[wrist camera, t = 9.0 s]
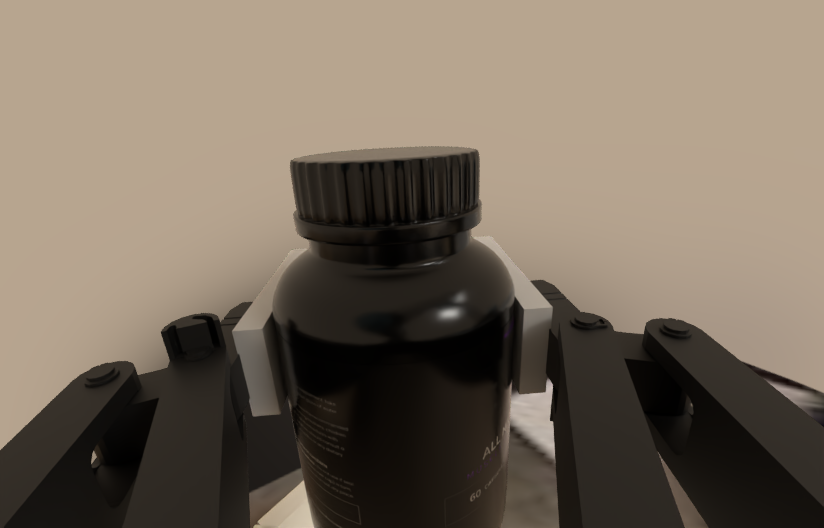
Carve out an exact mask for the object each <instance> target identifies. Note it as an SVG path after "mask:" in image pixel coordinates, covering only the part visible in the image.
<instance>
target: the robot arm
mask: <svg viewBox="0 0 824 528" xmlns="http://www.w3.org/2000/svg"><path fill="white" fill-rule="evenodd" d="M473 238H474V239H476V240H478V241H480V242H481V243H483V244H485V245H486V246H488V247H489V248H490V249H491V250H493V251H494V252H495V253H496V254H497V255H498V256H499V257H500V258H501V260H502V261H503V263H504V264H505V266H506V267H507V269H508V271H509V273H510V275H511V278H512V281H513V284H514V291H515V318H514V341H513V363H512V380H513V382H514V384H515V386H516V388H517V390H518V392H519V394H529V393H541V392H546V380H547V376H548V377H549V379H550V380H551V382H552V384H553V394H552V404H551V415H550V421H553V425H554V442H555V459H556V476H557V493H558V510H559V527H560V528H685V527H684V525H683V522H682V519H681V516H680V513H679V511H678V508H677V505H676V502H675V499H674V497H673V494H672V491H671V488H670V485H669V483H668V480H667V477H666V474H665V471H664V469H663V466H662V463H661V460H660V457H659V455H658V452H659V454H660V455H661V457H662V458H663V460H664V461H665V463H666V464H667V466H668V467H669V469H670V470H671V472H672V473H673V475H674V476H675V478H676V479H677V481H678V482H679V484H680V485H681V487H682V488H683V490H684V491H685V492H686V494H687V495H688V497H689V498H690V500H691V501H692V503H693V504H694V506H695V507H696V509H697V510H698V512H699V513H700V515H701V516H702V518H703V519H704V521H705V522H706V524H707V525H708V527H709V528H824V427H823V426H822V425H820V424H819V423H818V422H817V421H815V420H814V419H813V418H812V417H810V416H809V415H808V414H807V413H805V412H804V411H803V410H802V409H800V408H799V407H798V406H797V405H795V404H794V403H793V402H792V401H790V400H789V399H788V398H787V397H785V396H784V395H783V394H781V393H780V392H779V391H778V390H776V389H775V388H774V387H773V386H771V385H770V384H769V383H768V382H766V381H765V380H764V379H763V378H761V377H760V376H759V375H758V374H756V373H755V372H754V371H753V370H751V369H750V368H749V367H748V366H746V365H745V364H744V363H742V362H741V361H740V360H739V359H737V358H736V357H735V356H734V355H732V354H731V353H730V352H728V351H727V350H726V349H725V348H724V347H722V346H721V345H720V344H719V343H717V342H716V341H715V340H714V339H712V338H711V337H710V336H708V335H707V334H706V333H705V332H703V331H702V330H701V329H699V328H697V327H696V326H694V325H691V324H688V323H686V322H684V321H682V320H676V319H672V318H669V319H662V318H660V319H653V320H650V321H648V322H647V323H646V326H645V331H644V334H633V333H623V332H616V331H614V330H613V326H612V325H611V323H610V322H609V321H608V320H606V319H604V318H603V317H601V316H598V315H595V314H591V313H585V312H580V311H579V310H578V309H577V308H576V307H575V306H574V305H573V304H572V303H571V302H570V301H569V300H568V299H566V297H565V296H564V295H563V294H561V292H560V291H559V290H558V289H557V288H556V287H555V286H554V285H552V284H550V283H548V282H546V281H544V280H535V281H529V279H528V278H527V277H526V276H525V275H524V274H523V273H522V271H521V270H520V269H519V268H518V267H517V266H516V264H515V263H514V262H513V261H512V260H511V259H510V258H509V256H508V255H507V254H506V253H505V252H504V251H503V250H502V248H501V247H500V246H499V245H498V244H497V243H496V241H495V240H494V239H493V238H492V237H491V236H485V237H473ZM307 249H309V248H306V249H292V250H291V251H290V252H289V254H288V255H287V256H286V258H285V259H284V261H283V262H282V264H281V265H280V266H279V267H278V269H277V270H276V272H275V273H274V274H273V276H272V277H271V279H270V280H269V281H268V283H267V284H266V285H265V287H264V288H263V289H262V291H261V292H260V293H259V295H258V296H257V298H256V299H255V300H254V302H244V303H241V304H239V305H238V306H236V307H235V308H233V309H231V310H230V311H229V313H228V314H227V315H226V316H225V317H224V320H222V321H221V322H220V321H219V318H218V316H217V315H214V314H210V313H209V314H208V313H201V314H194V315H190V316H186V317H183V318H180V319H178V320H176V321H173V322H171V323H170V324H168V325H167V326H165V327H164V329H163V330H162V331H161V334H162V337H163V341H164V344H165V346H166V350H167V353H168V356H169V359H170V362H169V365H168V368H165V369H162V370H158V371H154V372H150V373H145V374H141V375H137V372H136V369H135V367H134V364H133V363H131V362H128V361H117V362H113V363H105V364H101V365H100V366H96V367H93V368H91V369H90V370H89V371H87V372H85V373H83V374H81V375H80V376H78V377H77V378H76V379H75V380H73V381H72V382H71V383H70V384H69V385H68V386H67V387H66V388H65V389H64V390H63V391H62V392H60V393H59V394H58V395H57V396H56V397H55V398H54V399H53V400H52V401H51V402H50V403H49V404H48V405H47V406H46V407H45V408H44V409H43V410H42V411H41V412H40V413H39V414H38V415H36V416H35V418H33V420H31V421H30V422H29V423H28V424H27V425H26V426H25V427H24V428H23V429H22V430H21V431H20V432H19V433H18V434H17V435H16V436H15V437H14V438H13V439H12V440H10V442H8V443H7V444H6V445H5V446H4V447H3V448H2V449H1V450H0V528H250V511H249V482H248V454H247V425H246V421H245V417H244V413H243V411H244V409H245V407H246V405H247V403H248V401H249V402H250V406H251V410H252V414H253V416H263V415H275V414H281V411H282V408H283V405H284V403H285V400H286V397H287V395H288V394H287V389H286V384H285V379H284V373H283V368H282V363H281V358H280V352H279V347H278V342H277V336H276V331H275V325H274V317H273V309H272V303H273V296H274V292H275V289H276V286H277V284H278V281H279V279H280V277H281V276H282V274H283V272H284V271H285V269H286V268H287V267H288V266H289V265H290V264H291V262H292V261H293V260H295V259H296V258H297V257H298V256H299V255H301V254H302V253H303V252H304V251H306V250H307ZM691 403H692V406H693V407H692V406H691ZM93 451H95V454H96V456H97V458H96V459H95V460H94V462H93V463H92V465H91V459H92V453H93ZM657 451H658V452H657Z"/></svg>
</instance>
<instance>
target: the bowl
mask: <svg viewBox="0 0 824 528" xmlns="http://www.w3.org/2000/svg"><path fill="white" fill-rule="evenodd" d="M257 522H258V525H254V527H253V528H314V526H313V522H312V518H311V513H310V508H309V504H308V499H307V494H306V489H305V484H304V481H302V482H301V483H300V484H299V485H298V486H297V487H296V488H295V489H293V490H292V491H291V492H290V493H289V494H288V495H287V496H286V497H284V498H283V499H282V500H281V501H280V502H279V503H278V504H277V505H275V506H274V507H273V508H272V509H271V510H270V511H269V512H268V513H266V514H265V515H264V516H263V517H262V518H261V519H260V520H258V521H257Z"/></svg>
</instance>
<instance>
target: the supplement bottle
mask: <svg viewBox="0 0 824 528" xmlns="http://www.w3.org/2000/svg"><path fill="white" fill-rule="evenodd" d="M290 170H291V178H292V184H293V191H294V197H295V204H296V208H297V210H296V211H295V212H294V214H293V215H294V222H295V227H296V231H297V233H298V234H299V235H300V236H301V237H303V238H305V239H308V240H309V245H310V248H309V249H307V250H306V251H304V252H303V253H302V254H301V255H299V256H298V257H297V258H296V259H295V260H293V261H292V262H291V264H290V265H289V266H288V267H287V268H286V269H285V271H284V272H283V274H282V276H281V277H280V279H279V281H278V284H277V286H276V289H275V292H274V296H273V303H272V309H273V317H274V325H275V331H276V336H277V342H278V347H279V352H280V358H281V363H282V368H283V373H284V379H285V384H286V389H287V394H288V399H289V404H290V410H291V415H292V421H293V426H294V431H295V436H296V441H297V447H298V452H299V457H300V462H301V468H302V473H303V478H304V484H305V489H306V494H307V499H308V504H309V508H310V513H311V518H312V522H313V526H314V528H500V527H501V524H502V521H503V516H504V511H505V503H506V490H507V475H508V453H509V430H510V408H511V385H512V363H513V341H514V318H515V291H514V284H513V281H512V278H511V275H510V273H509V271H508V269H507V267H506V266H505V264H504V263H503V261H502V260H501V258H500V257H499V256H498V255H497V254H496V253H495V252H494V251H493V250H491V249H490V248H489V247H488V246H486V245H485V244H483V243H481V242H480V241H478V240H476V239H474V238H473V237H471V229H472V228H473V227H475V226H477V225H478V224H479V223H480V221H481V205H482V204H481V201H480V200H479V153H478V151H477V150H476V149H472V148H464V147H400V148H380V149H364V150H352V151H341V152H331V153H323V154H316V155H309V156H303V157H300V158H295V159H293V160H291V162H290Z"/></svg>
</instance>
